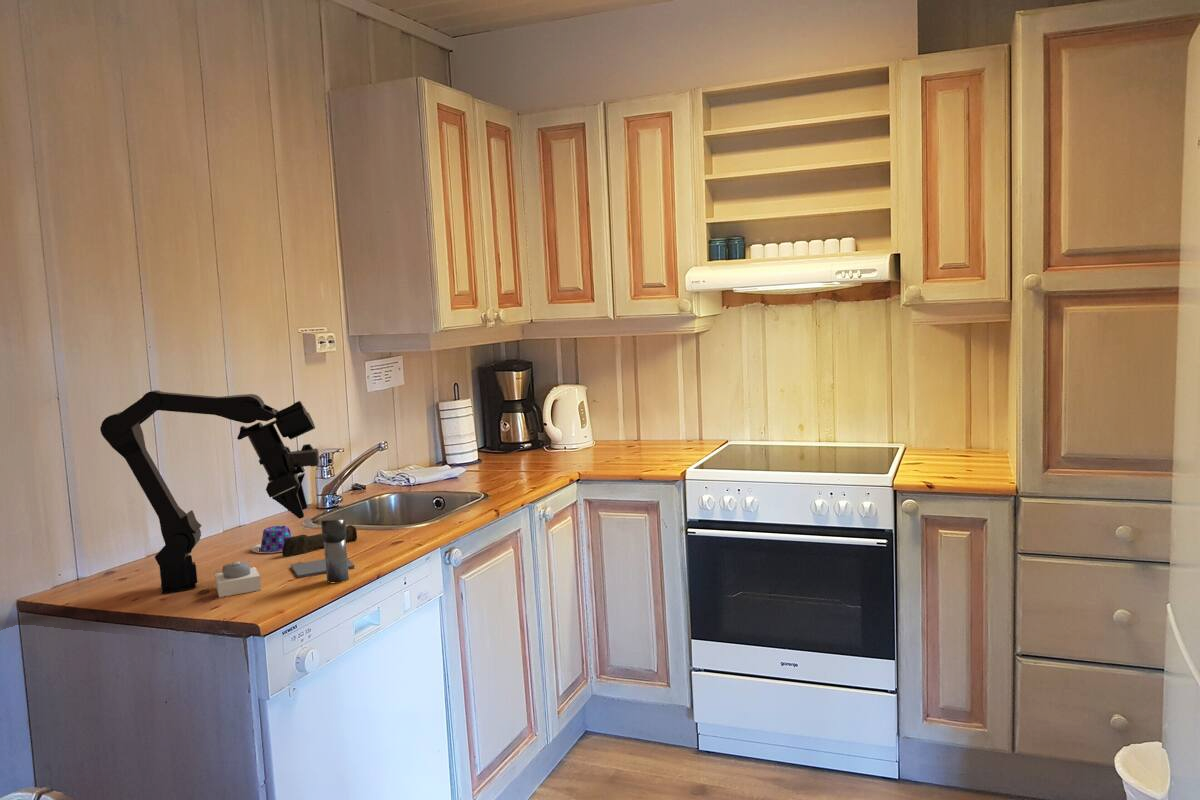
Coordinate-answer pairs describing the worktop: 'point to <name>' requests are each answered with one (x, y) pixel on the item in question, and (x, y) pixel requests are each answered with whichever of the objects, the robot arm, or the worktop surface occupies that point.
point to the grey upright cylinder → (335, 548)
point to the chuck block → (237, 579)
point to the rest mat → (313, 568)
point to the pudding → (273, 539)
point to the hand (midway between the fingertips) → (303, 513)
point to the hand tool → (311, 542)
